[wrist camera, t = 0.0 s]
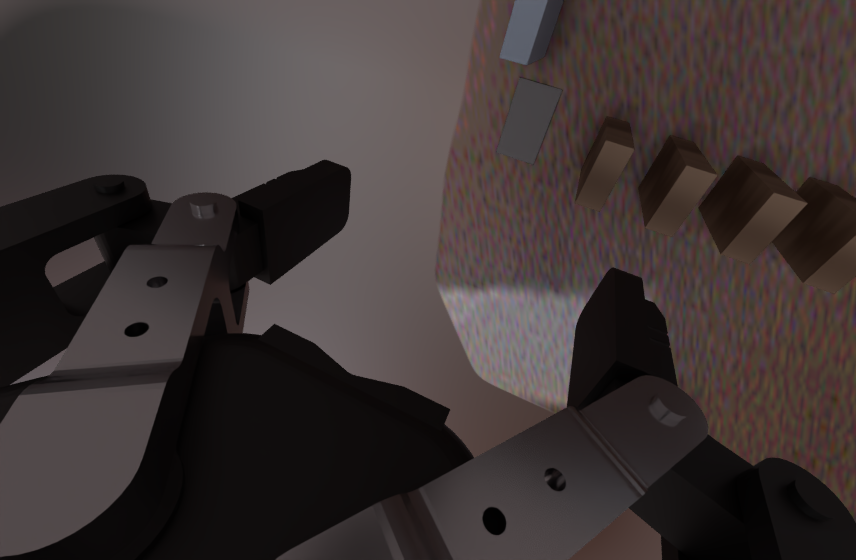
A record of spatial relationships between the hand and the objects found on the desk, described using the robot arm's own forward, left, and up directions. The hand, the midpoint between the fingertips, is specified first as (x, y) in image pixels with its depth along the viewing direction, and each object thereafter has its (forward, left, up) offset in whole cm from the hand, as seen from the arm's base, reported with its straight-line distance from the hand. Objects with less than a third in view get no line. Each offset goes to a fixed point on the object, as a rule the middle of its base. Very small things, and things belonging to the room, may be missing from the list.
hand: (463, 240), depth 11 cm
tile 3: (+3, +11, -29) cm, 31 cm away
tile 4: (+3, +16, -29) cm, 34 cm away
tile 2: (+3, +5, -29) cm, 30 cm away
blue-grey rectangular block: (-5, -4, -29) cm, 30 cm away
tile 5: (+3, +22, -29) cm, 37 cm away
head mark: (+3, -2, -29) cm, 30 cm away
